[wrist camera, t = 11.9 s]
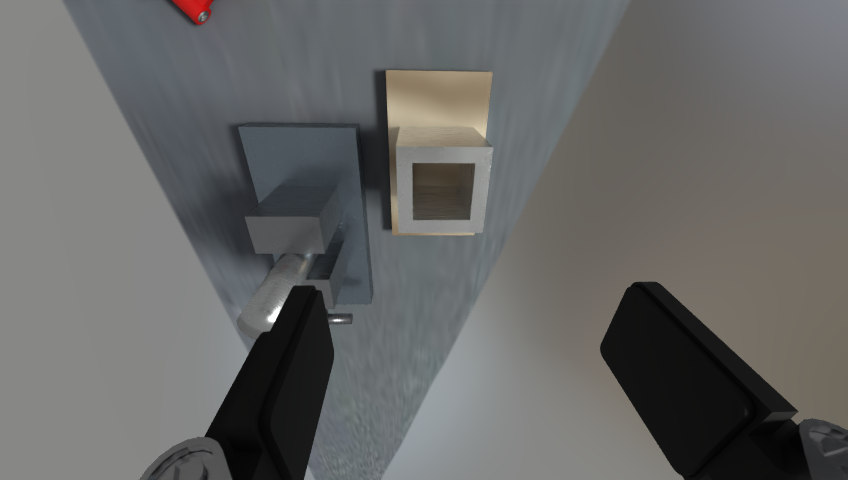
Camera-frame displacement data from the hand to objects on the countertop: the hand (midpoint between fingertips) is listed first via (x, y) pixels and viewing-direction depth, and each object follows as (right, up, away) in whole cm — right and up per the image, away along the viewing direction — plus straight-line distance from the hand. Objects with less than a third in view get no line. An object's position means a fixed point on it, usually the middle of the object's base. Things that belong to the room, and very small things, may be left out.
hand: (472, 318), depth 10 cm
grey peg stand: (-12, +4, +20) cm, 24 cm away
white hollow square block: (-1, +9, +17) cm, 19 cm away
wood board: (-1, +10, +18) cm, 20 cm away
